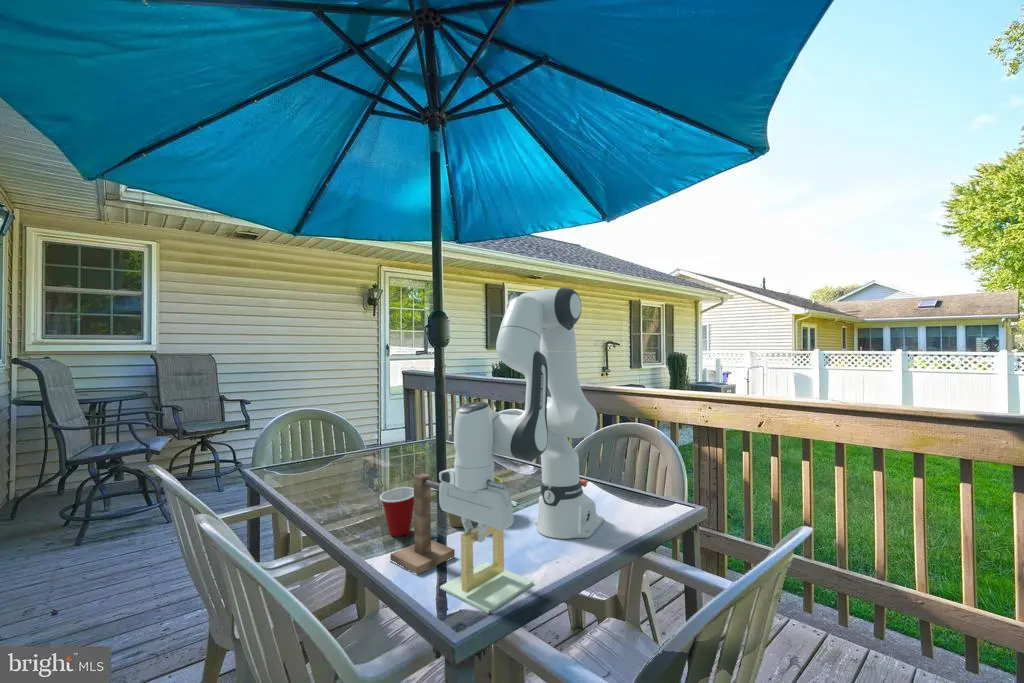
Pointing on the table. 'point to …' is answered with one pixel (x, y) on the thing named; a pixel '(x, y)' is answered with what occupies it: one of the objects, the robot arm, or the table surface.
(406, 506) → the plastic cup
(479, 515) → the robot arm
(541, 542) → the table surface
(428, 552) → the hook stand
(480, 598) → the sage mat
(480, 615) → the table surface
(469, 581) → the yellow picture frame
